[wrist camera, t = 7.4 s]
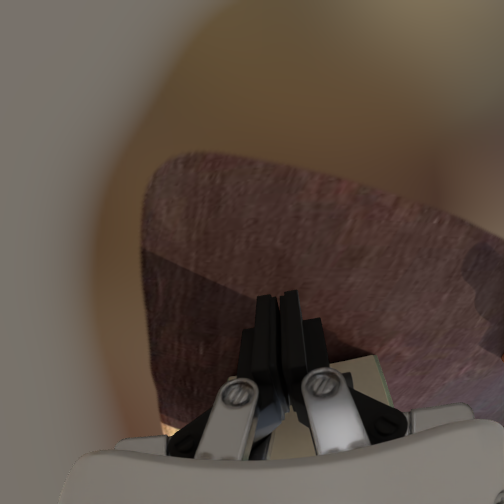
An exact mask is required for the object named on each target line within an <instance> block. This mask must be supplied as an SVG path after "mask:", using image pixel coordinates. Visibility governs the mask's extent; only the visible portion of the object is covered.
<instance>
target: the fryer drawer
mask: <svg viewBox="0 0 504 504" xmlns="http://www.w3.org/2000/svg"><path fill="white" fill-rule="evenodd" d="M330 368H333V369H336V370H338V371H339V372H341V374H342V375H343V377H344V378H345V381H346V383H347V386H349V387H351V388H353V389H355V390H357V391H359V392H361V393H363V394H365V395H367V396H369V397H371V398H373V399H376V400H378V401H380V402H382V403H384V404H386V405H389V402H388V399H387V395H386V392H385V389H384V386H383V383H382V380H381V376H380V373H379V370H378V367H377V365H376V362H375V359H374V356H373V355H370V356H365V357H361V358H356V359H352V360H347V361H342V362H337V363H332V364H330ZM236 377H237V376H232V377H229V381H230V380H232V379H235V378H236ZM289 400H290V397H289ZM389 406H390V405H389ZM310 456H316V454H315V450H314V446H313V443H312V439H311V435H310V431H309V428H308V427H306V426H305V425H303V424H302V423H300V422H299V421H298V417H297V413H296V412H294V411H293V408H292V404H291V400H290V412H289V413H285V420H282V423H281V424H280V425H279V426H278V427H277V428H276V429H275V437H274V442H273V447H272V452H271V457H270V460H279V459H292V458H302V457H310Z"/></svg>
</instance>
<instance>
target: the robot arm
mask: <svg viewBox="0 0 504 504" xmlns="http://www.w3.org/2000/svg"><path fill="white" fill-rule="evenodd" d="M289 397H290V400H291V404H292V408H293V411H294V412H296V413H297V417H298V421H299V422H300V423H302V424H303V425H305V426H306V427H308V428H309V431H310V435H311V439H312V443H313V446H314V450H315V454H316V456H310V457H302V458H292V459H279V460H270V457H271V452H272V447H273V442H274V437H275V429H276V428H277V427H278V426H279V425H280V424H281V423H282V420H285V413H289V412H290V400H289ZM57 504H504V428H503V426H501V425H500V424H499V423H497V422H495V421H492V420H486V419H475V417H474V413H473V410H472V408H471V407H470V406H469V405H468V404H465V403H453V404H447V405H441V406H434V407H426V408H418V409H411V411H410V412H401V411H399V410H398V409H395V408H393V407H391V406H389V405H386V404H384V403H382V402H380V401H378V400H376V399H373V398H371V397H369V396H367V395H365V394H363V393H361V392H359V391H357V390H355V389H353V388H351V387H349V386H347V383H346V381H345V378H344V377H343V375H342V374H341V372H339V371H338V370H336V369H333V368H330V364H329V359H328V353H327V348H326V343H325V338H324V333H323V328H322V323H321V318H314V319H308V320H303V319H302V313H301V308H300V302H299V296H298V291H297V290H293V291H287V292H284V296H280V311H279V307H278V303H277V298H276V297H271V295H270V294H269V295H263V296H257V303H256V316H255V328H250V329H244V330H243V332H242V339H241V346H240V354H239V362H238V369H237V377H236V378H235V379H232V380H230V381H228V382H226V383H225V384H224V385H223V386H222V387H221V388H220V390H219V392H218V394H217V397H216V399H215V402H214V405H213V407H212V408H210V409H209V410H207V411H206V412H205V413H203V414H202V415H201V416H199V417H198V418H196V419H195V420H193V421H192V422H191V423H189V424H188V425H186V426H185V427H183V428H182V429H180V430H179V431H177V432H176V433H175V434H174V435H173V436H169V437H168V436H167V435H158V436H149V437H137V438H136V437H135V438H125V439H122V440H121V441H119V442H118V443H117V444H116V446H115V449H108V450H100V451H95V452H91V453H87V454H85V455H83V456H81V457H80V458H79V459H78V460H77V461H76V462H75V464H74V465H73V467H72V468H71V470H70V472H69V474H68V477H67V479H66V481H65V484H64V486H63V489H62V491H61V494H60V497H59V500H58V503H57Z"/></svg>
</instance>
